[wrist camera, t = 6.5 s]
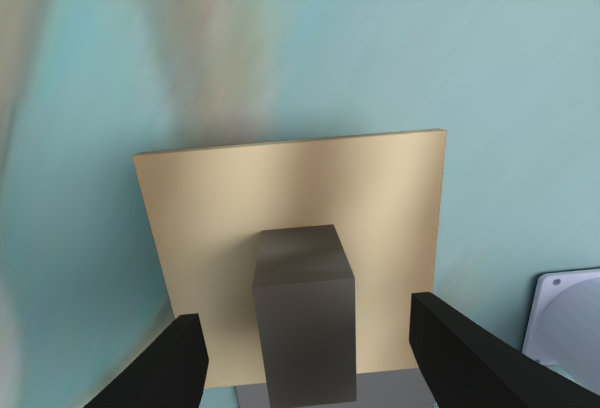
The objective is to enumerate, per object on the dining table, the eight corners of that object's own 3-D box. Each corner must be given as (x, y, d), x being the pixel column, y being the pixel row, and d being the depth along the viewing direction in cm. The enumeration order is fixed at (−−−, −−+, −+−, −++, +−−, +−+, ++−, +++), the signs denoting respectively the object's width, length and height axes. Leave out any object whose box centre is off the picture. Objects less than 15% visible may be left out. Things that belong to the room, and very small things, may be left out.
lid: (436, 128, 12) (528, 144, 7) (418, 354, 16) (472, 454, 11) (141, 152, 12) (51, 183, 7) (198, 376, 16) (162, 486, 11)
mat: (439, 311, 21) (442, 316, 20) (425, 451, 26) (428, 458, 25) (226, 331, 20) (225, 337, 20) (254, 469, 25) (253, 476, 25)
